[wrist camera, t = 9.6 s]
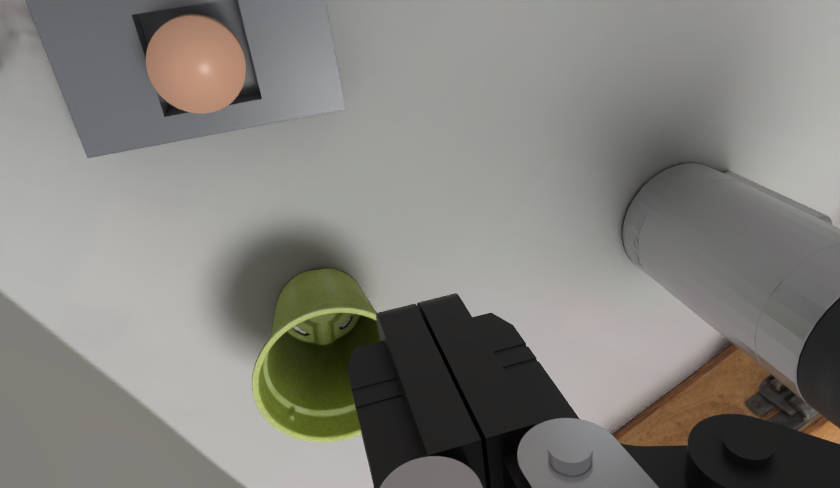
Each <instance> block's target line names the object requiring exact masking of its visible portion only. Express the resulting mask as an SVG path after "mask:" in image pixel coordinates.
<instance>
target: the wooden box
mask: <svg viewBox="0 0 840 488" xmlns="http://www.w3.org/2000/svg"><path fill="white" fill-rule="evenodd" d="M720 414H741V415H748V416H752V417H756V418H760V419H763V420H766V421H769V422H772V423H775V424H778V425H782V426H785V427H788V428H791V429H794V430H797V431H800V432H803V433H806V434H809V435H813V436H816V437H819V438H822V439H825V440H828V441H831V442H834V443H837V444H840V429H839V428H838V427H837V426H835V425H834V424H833V423H831V422H830V421H829V420H827V419H826V418H825V417H824V416H822V415H821V414H820V413H818V412H817V411H816V410H815V409H813V408H812V407H811V406H810V405H808V404H807V403H806V402H804V401H803V400H802V399H801V398H799V397H798V396H797V395H796V394H795V393H793V392H792V391H791V390H790V389H788V388H787V387H786V386H785V385H783V384H782V383H781V382H780V381H779V380H777V379H776V378H775V377H774V376H772V375H771V374H770V373H769V372H767V371H766V370H765V369H763V368H762V367H761V366H760V365H758V364H757V363H756V362H755V361H754V360H752V359H751V358H750V357H749V356H747V355H746V354H745V353H744V352H742V351H741V350H740V349H739V348H738V347H736V346H735V345H734V344H733V343H732V344H731V345H730V346H728V347H727V348H726V349H724V350H723V351H722V352H721V353H719V354H718V355H717V356H715V357H714V358H713V359H711V360H710V361H709V362H707V363H706V364H705V365H704V366H702V367H701V368H700V369H699V370H697V371H696V372H695V373H694V374H693V375H692V376H690V377H689V378H687V379H686V380H685V381H683V382H682V383H680V384H679V385H677V386H676V387H675V388H673V389H672V390H671V391H670V392H668V393H667V394H666V395H664V396H663V397H662V398H660V399H659V400H658V401H656V402H655V403H654V404H652V405H651V406H650V407H648V408H647V409H646V410H644V411H643V412H642V413H640V414H639V415H638V416H637V417H635V418H634V419H633V420H631V421H630V422H629V423H627V424H626V425H625V426H623V427H622V428H621V429H619V430H618V431H616V432H615V433H614V434H613V436H614V437H615V438H616V439H617V441H618V442H619V443H622V444H627V445H634V446H679V445H687V444H688V437H689V434H690V432H691V430H692V429H693V427H694V426H695V425H696V424H697V423H699V422H700V421H702V420H704V419H705V418H708V417H711V416H715V415H720Z"/></svg>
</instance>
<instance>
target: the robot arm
mask: <svg viewBox="0 0 840 488" xmlns="http://www.w3.org/2000/svg"><path fill="white" fill-rule="evenodd" d="M623 244H624V247H625V250H626V253H627V254H628V256H629V257H630V259H631V260H632V262H634V263H635V264H636V265H637V266H638V267H640V268H641V269H642V270H643V271H644V272H646V273H647V274H648V275H649V276H651V277H652V278H653V279H654V280H655V281H657V282H658V283H659V284H660V285H661V286H663V287H664V288H665V289H666V290H667V291H668V292H670V293H671V294H672V295H673V296H675V297H676V298H677V299H678V300H680V301H681V302H682V303H683V304H684V305H686V306H687V307H688V308H689V309H691V310H692V311H693V312H694V313H696V314H697V315H698V316H699V317H701V318H702V319H703V320H704V321H705V322H707V323H708V324H709V325H710V326H712V327H713V328H714V329H715V330H717V331H718V332H719V333H720V334H721V335H723V336H724V337H725V338H726V339H728V340H729V341H730V342H731V343H733V344H734V345H735V346H736V347H738V348H739V349H740V350H741V351H742V352H744V353H745V354H746V355H747V356H749V357H750V358H751V359H752V360H754V361H755V362H756V363H757V364H758V365H760V366H761V367H762V368H763V369H765V370H766V371H767V372H769V373H770V374H771V375H772V376H774V377H775V378H776V379H777V380H779V381H780V382H781V383H782V384H783V385H785V386H786V387H787V388H788V389H790V390H791V391H792V392H793V393H795V394H796V395H797V396H798V397H799V398H801V399H802V400H803V401H804V402H806V403H807V404H808V405H810V406H811V407H812V408H813V409H815V410H816V411H817V412H818V413H820V414H821V415H822V416H824V417H825V418H826V419H827V420H829V421H830V422H831V423H833V424H834V425H835V426H837V427H838V428H839V429H840V229H839V228H837V227H835V226H833V225H832V221H831V219H830V218H829V217H828V216H827V215H825V214H822V213H820V212H818V211H816V210H814V209H812V208H809V207H807V206H805V205H803V204H801V203H798V202H796V201H794V200H792V199H790V198H788V197H785V196H783V195H781V194H779V193H777V192H775V191H772V190H770V189H768V188H766V187H764V186H761V185H759V184H757V183H755V182H753V181H751V180H748V179H746V178H744V177H742V176H740V175H738V174H735V173H733V172H731V171H728V172H724V173H721V172H719V171H717V170H715V169H713V168H711V167H709V166H706V165H702V164H698V163H685V164H680V165H676V166H673V167H671V168H668V169H666V170H664V171H662V172H661V173H659V174H658V175H656V176H655V177H653V178H652V179H651V180H650V181H649V182H648V183H646V184H645V185H644V186H643V187H642V188H641V190H640V191H639V192H638V194H637V195H636V196H635V198H634V199H633V201H632V203H631V205H630V207H629V209H628V211H627V214H626V217H625V220H624V226H623ZM376 320H377V326H378V331H379V336H380V341H379V342H375V343H372V344H368V345H364V346H360V347H356V348H354V350H353V353H352V355H351V358H350V361H349V364H348V367H347V372H348V377H349V381H350V386H351V390H352V394H353V399H354V403H355V408H356V412H357V416H358V421H359V425H360V429H361V434H362V438H363V442H364V446H365V451H366V455H367V459H368V463H369V467H370V471H371V475H372V480H373V484H374V488H840V444H837V443H834V442H831V441H828V440H825V439H822V438H819V437H816V436H813V435H809V434H806V433H803V432H800V431H797V430H794V429H791V428H788V427H785V426H782V425H778V424H775V423H772V422H769V421H766V420H763V419H760V418H756V417H752V416H748V415H741V414H720V415H715V416H711V417H708V418H705V419H704V420H702V421H700V422H699V423H697V424H696V425H695V426H694V427H693V429H692V430H691V432H690V434H689V437H688V444H687V445H679V446H634V445H627V444H622V443H619V442H618V441H617V439H616V438H615V437H614V436H613V435H612V434H611V433H609V432H608V431H607V430H605V429H604V428H602V427H600V426H598V425H596V424H594V423H591V422H589V421H585V420H581V419H579V418H578V416H577V415H576V413H575V412H574V411H573V409H572V408H571V406H570V405H569V404H568V402H567V401H566V399H565V398H564V397H563V395H562V394H561V392H560V391H559V389H558V388H557V387H556V385H555V384H554V382H553V381H552V380H551V378H550V377H549V375H548V374H547V373H546V371H545V370H544V368H543V367H542V366H541V364H540V363H539V362H537V360H536V357H535V356H534V354H533V353H532V351H531V350H530V349H529V347H526V343H525V342H524V340H523V339H522V337H521V336H520V335H519V333H518V332H517V330H516V329H515V327H514V326H513V325H512V324H510V323H508V322H506V321H505V320H503V319H501V318H499V317H498V316H496V315H494V314H493V313H488V314H484V315H480V316H476V317H472V316H471V315H470V313H469V312H468V310H467V308H466V307H465V305H464V303H463V302H462V300H461V299H460V297H459V296H458V294H456V293H455V294H451V295H447V296H443V297H439V298H435V299H431V300H427V301H423V302H419V303H417V306H416V304H412V305H408V306H404V307H400V308H396V309H392V310H387V311H383V312H379V313H376Z"/></svg>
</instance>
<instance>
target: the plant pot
mask: <svg viewBox="0 0 840 488" xmlns="http://www.w3.org/2000/svg"><path fill="white" fill-rule="evenodd" d="M376 313H377V312H376V311H375V309H374V308H373V306H372V305H371V303H370V302H369V300H368V299H367V297H366V296H365V294H364V293H363V291H362V290H361V288H360V287H359V285H358V284H357V283H356V281H355V280H354V279H353V278H352V277H350V276H349V275H347V274H345V273H344V272H341V271H339V270H336V269H330V268H325V269H320V270H312V271H305V272H303V273H300V274H298V275H297V276H295V277H294V278H292V279H291V280H290V281H289V282H288V283H287V284H286V285H285V287H284V288H283V289H282V291H281V293H280V295H279V298H278V301H277V305H276V310H275V316H274V321H273V327H272V331H271V336H270V338H269V339H268V341H267V342H266V343H265V345H264V346H263V348H262V350H261V351H260V353H259V356H258V358H257V360H256V363H255V366H254V370H253V375H252V391H253V397H254V400H255V403H256V405H257V408H258V410H259V411H260V413H261V414H262V416H263V417H264V418H265V419H266V420H267V421H268V422H269V423H270V424H271V425H272V426H273V427H274V428H276V429H277V430H279V431H280V432H282V433H284V434H286V435H288V436H291V437H293V438H296V439H300V440H304V441H311V442H333V441H341V440H346V439H349V438H353V437H356V436H358V435H361V429H360V425H359V421H358V416H357V412H356V408H355V403H354V399H353V394H352V390H351V386H350V381H349V377H348V372H347V367H348V364H349V361H350V358H351V355H352V353H353V350H354V348H356V347H360V346H364V345H368V344H372V343H375V342H379V341H380V336H379V331H378V326H377V320H376ZM351 315H352V320H351V322H350V323H349V325H348V326H346V327H345V328H343V329H339V327H340V326H341V325H342V324H343V323H345V322H346V320H347V319H348V318H350V316H351ZM295 325H296V326H298V327H299V328H300V329H301V330H303V331H305V332H307V333H309V335H307V336H305V335H302V334H300V333H298V332H296V331H295V330H294V328H293V327H294V326H295Z"/></svg>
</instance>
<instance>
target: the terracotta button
mask: <svg viewBox="0 0 840 488" xmlns="http://www.w3.org/2000/svg"><path fill="white" fill-rule="evenodd" d="M146 68H147V72H148V76H149V78H150V81H151V83H152V85H153V87H154V88H155V89H156V91H157V92H158V93H159V94H160V96H161V97H162V98H163V99H165V100H166V101H167V102H168V103H170V104H171V105H173V106H175V107H176V108H178V109H181V110H183V111H187V112H191V113H201V114H204V113H211V112H215V111H218V110H220V109H223V108H224V107H226V106H228V105H229V104H230V103H232V102H233V101H234V99H235V98H236V97H237V96H238V94H239V93H240V91H241V89H242V87H243V84H244V81H245V75H246V60H245V54H244V51H243V48H242V46H241V43H240V42H239V40H238V38H237V37H236V35H235V34H234V33H233V32H232V31H231V30H230V29H229V28H228V27H227V26H226V25H225V24H223V23H222V22H220V21H218V20H217V19H214V18H212V17H210V16H206V15H202V14H184V15H180V16H177V17H174V18H172V19H171V20H169V21H167V22H166V23H165V24H164V25H162V26H161V27H160V28H159V29H158V30H157V31H156V32H155V34H154V35H153V37H152V38H151V40H150V42H149V45H148V48H147V52H146Z"/></svg>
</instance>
